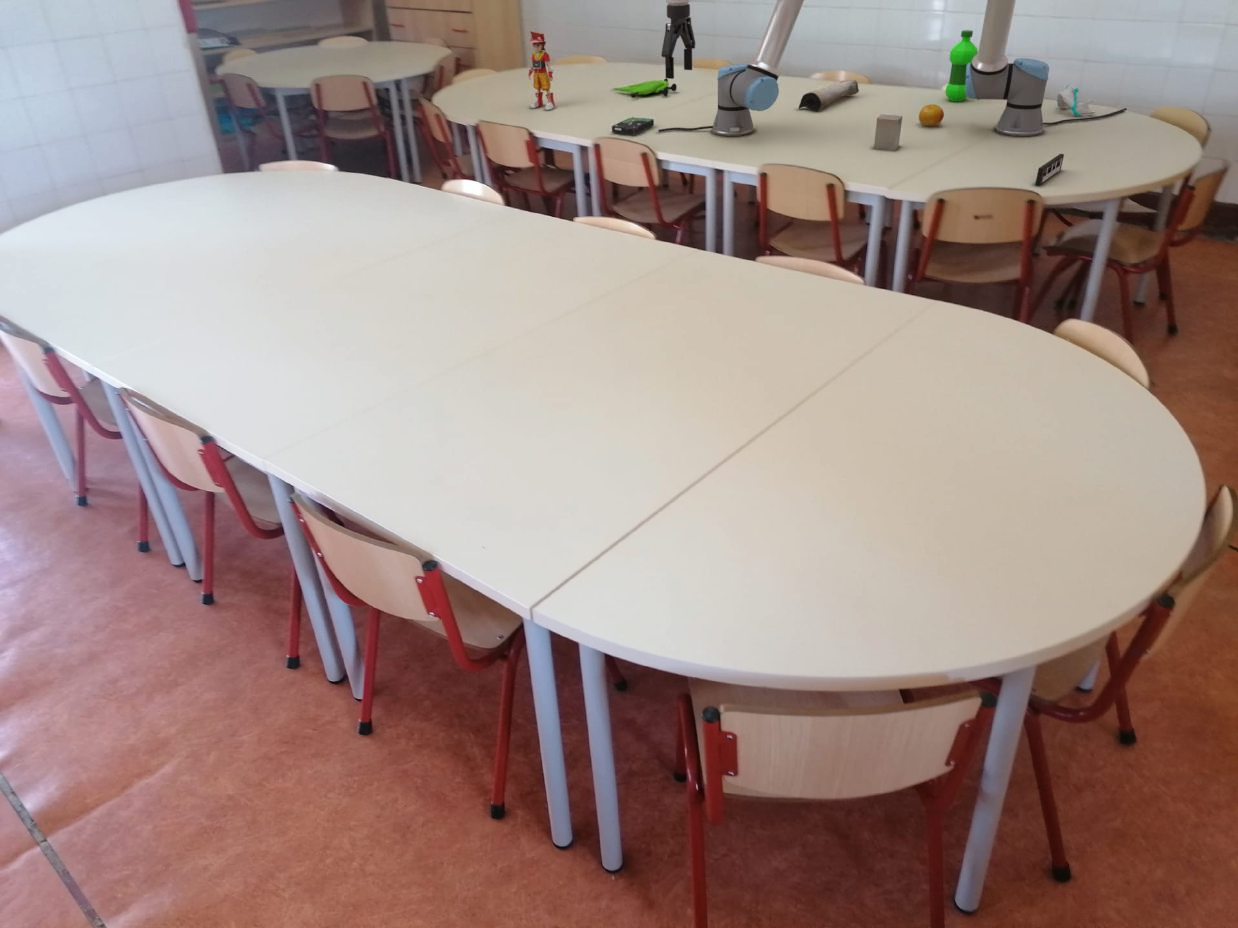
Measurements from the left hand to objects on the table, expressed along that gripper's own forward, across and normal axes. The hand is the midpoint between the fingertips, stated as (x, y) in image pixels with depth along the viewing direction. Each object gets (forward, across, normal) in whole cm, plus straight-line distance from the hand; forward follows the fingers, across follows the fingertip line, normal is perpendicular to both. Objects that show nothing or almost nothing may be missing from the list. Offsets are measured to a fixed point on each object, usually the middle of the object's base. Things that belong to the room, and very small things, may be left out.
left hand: (679, 74), depth 301 cm
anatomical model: (+26, +97, -114) cm, 152 cm away
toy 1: (+26, +41, +87) cm, 100 cm away
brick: (+26, +31, -64) cm, 76 cm away
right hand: (-14, +93, -82) cm, 124 cm away
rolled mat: (+26, +85, -25) cm, 92 cm away
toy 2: (+26, +79, +59) cm, 102 cm away
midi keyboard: (+26, +15, -119) cm, 123 cm away
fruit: (+26, +63, -71) cm, 99 cm away
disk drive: (+26, +22, +32) cm, 47 cm away
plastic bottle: (+26, +103, -71) cm, 128 cm away
